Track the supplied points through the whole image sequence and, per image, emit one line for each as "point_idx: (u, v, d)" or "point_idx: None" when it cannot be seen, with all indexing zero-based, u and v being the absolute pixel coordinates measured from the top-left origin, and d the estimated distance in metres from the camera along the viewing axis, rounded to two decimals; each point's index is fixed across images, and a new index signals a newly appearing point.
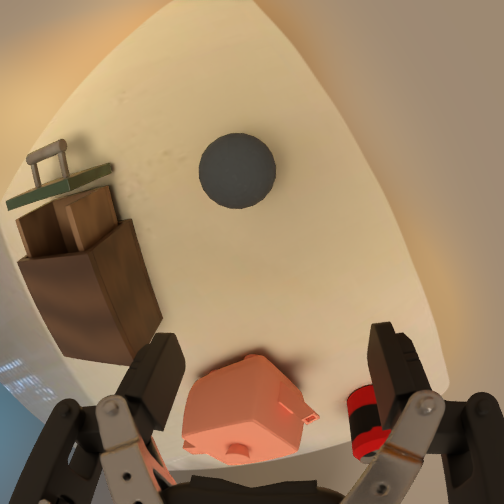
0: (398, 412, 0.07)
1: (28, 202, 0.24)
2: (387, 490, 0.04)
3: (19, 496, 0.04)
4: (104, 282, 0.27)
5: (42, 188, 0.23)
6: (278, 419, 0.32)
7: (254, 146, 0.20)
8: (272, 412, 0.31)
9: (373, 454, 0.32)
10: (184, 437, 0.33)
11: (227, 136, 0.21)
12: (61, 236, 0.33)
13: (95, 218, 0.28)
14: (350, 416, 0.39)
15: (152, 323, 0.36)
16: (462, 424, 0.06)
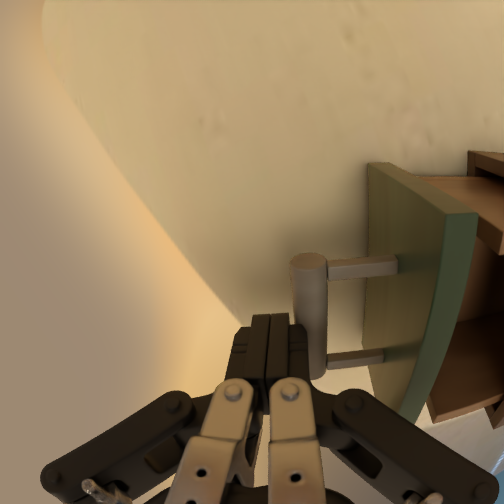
0: None
1: (430, 386, 0.09)
2: (301, 476, 0.05)
3: (69, 461, 0.06)
4: None
5: (428, 333, 0.08)
6: None
7: None
8: None
9: None
10: None
11: None
12: (468, 322, 0.15)
13: (498, 197, 0.09)
14: None
15: None
16: (333, 418, 0.07)
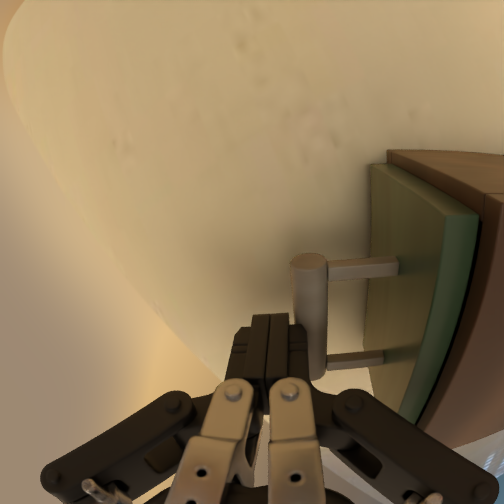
0: None
1: (429, 389, 0.09)
2: (301, 476, 0.05)
3: (69, 461, 0.06)
4: None
5: (427, 335, 0.08)
6: None
7: None
8: None
9: None
10: None
11: None
12: None
13: None
14: None
15: None
16: (332, 418, 0.07)
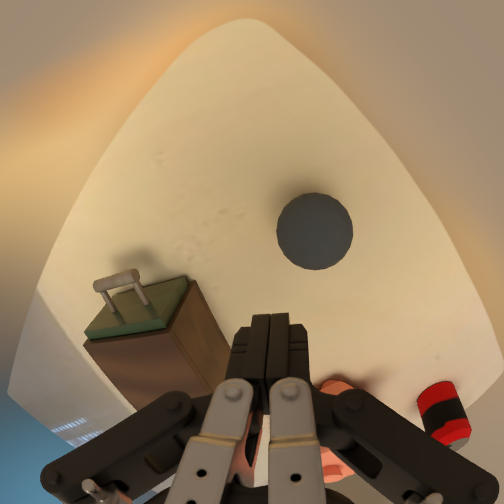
0: None
1: (114, 335, 0.28)
2: (301, 476, 0.05)
3: (69, 461, 0.06)
4: (188, 354, 0.28)
5: (130, 324, 0.27)
6: None
7: (333, 208, 0.20)
8: None
9: (449, 446, 0.29)
10: None
11: (303, 201, 0.21)
12: None
13: None
14: (423, 415, 0.37)
15: None
16: (332, 418, 0.07)
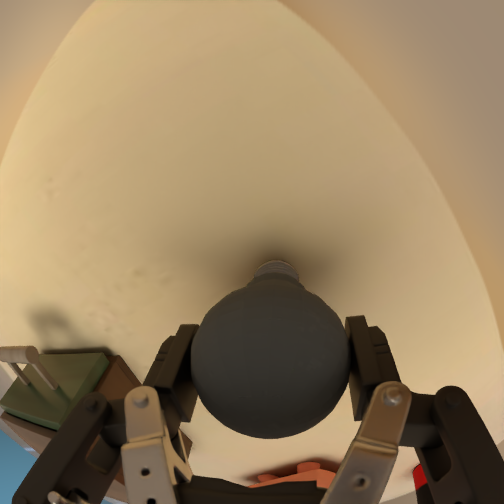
0: (366, 402, 0.08)
1: (24, 418, 0.16)
2: (366, 482, 0.04)
3: (29, 484, 0.04)
4: None
5: (33, 417, 0.15)
6: None
7: (308, 346, 0.08)
8: None
9: None
10: None
11: (238, 321, 0.09)
12: None
13: None
14: (418, 490, 0.25)
15: None
16: (431, 417, 0.06)
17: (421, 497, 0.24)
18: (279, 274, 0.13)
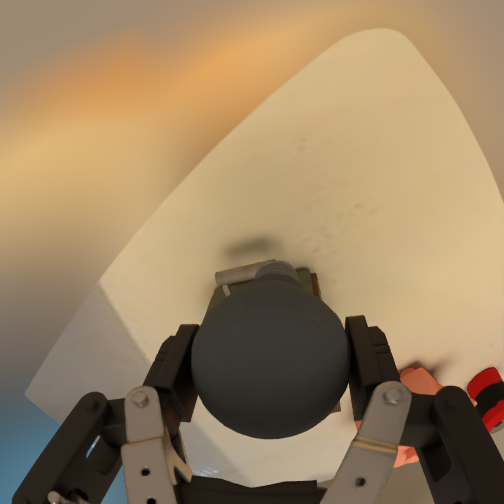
0: (366, 402, 0.08)
1: None
2: (366, 482, 0.04)
3: (29, 484, 0.04)
4: None
5: None
6: None
7: (308, 347, 0.08)
8: None
9: (500, 423, 0.30)
10: None
11: (238, 321, 0.09)
12: None
13: None
14: (476, 398, 0.37)
15: None
16: (431, 416, 0.06)
17: (479, 402, 0.36)
18: (279, 275, 0.13)
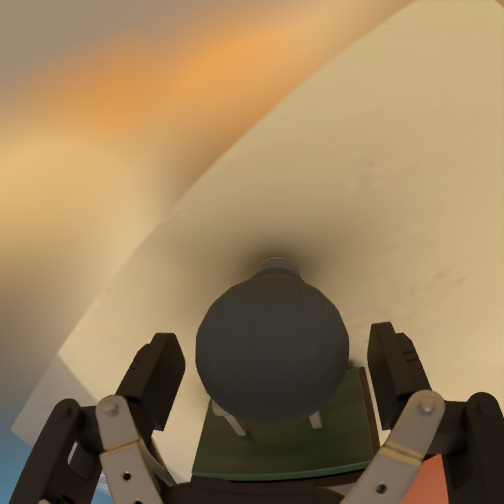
0: (398, 412, 0.07)
1: (262, 479, 0.14)
2: (387, 489, 0.04)
3: (19, 496, 0.04)
4: None
5: (307, 472, 0.13)
6: None
7: (307, 334, 0.09)
8: None
9: None
10: None
11: (241, 310, 0.09)
12: None
13: None
14: None
15: None
16: (463, 424, 0.06)
17: None
18: (280, 269, 0.14)
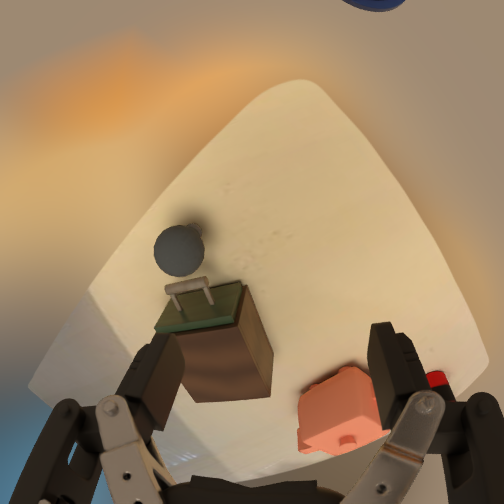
0: (398, 412, 0.07)
1: (185, 329, 0.37)
2: (386, 490, 0.04)
3: (19, 496, 0.04)
4: (248, 342, 0.37)
5: (202, 321, 0.36)
6: (375, 410, 0.40)
7: (181, 238, 0.32)
8: (370, 406, 0.40)
9: None
10: (305, 441, 0.42)
11: (165, 232, 0.32)
12: None
13: None
14: None
15: (270, 360, 0.46)
16: (462, 424, 0.06)
17: None
18: (188, 226, 0.37)
